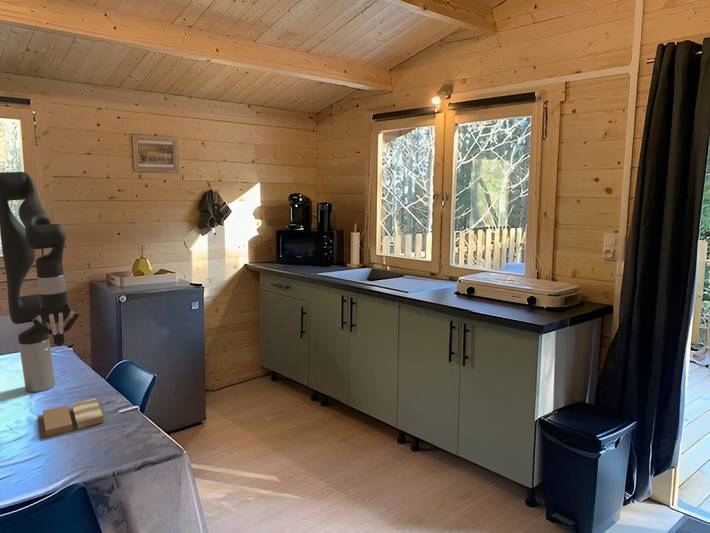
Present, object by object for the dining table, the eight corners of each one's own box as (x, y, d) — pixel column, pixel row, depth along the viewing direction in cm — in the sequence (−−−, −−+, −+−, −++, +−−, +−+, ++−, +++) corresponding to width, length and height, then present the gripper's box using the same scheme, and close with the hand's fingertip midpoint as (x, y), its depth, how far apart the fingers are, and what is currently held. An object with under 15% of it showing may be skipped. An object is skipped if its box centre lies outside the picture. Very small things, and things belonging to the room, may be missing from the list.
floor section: (37, 417, 172) (36, 409, 171) (101, 403, 181) (100, 395, 180) (41, 443, 155) (39, 434, 154) (110, 426, 164) (109, 417, 164)
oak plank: (72, 409, 175) (71, 404, 174) (96, 403, 178) (95, 397, 178) (78, 429, 161) (76, 422, 161) (104, 421, 165) (103, 415, 165)
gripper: (75, 285, 175) (81, 338, 178) (26, 291, 168) (34, 346, 171) (78, 289, 168) (84, 344, 172) (27, 296, 161) (35, 352, 165)
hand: (59, 345), depth 171 cm, fingers closed
